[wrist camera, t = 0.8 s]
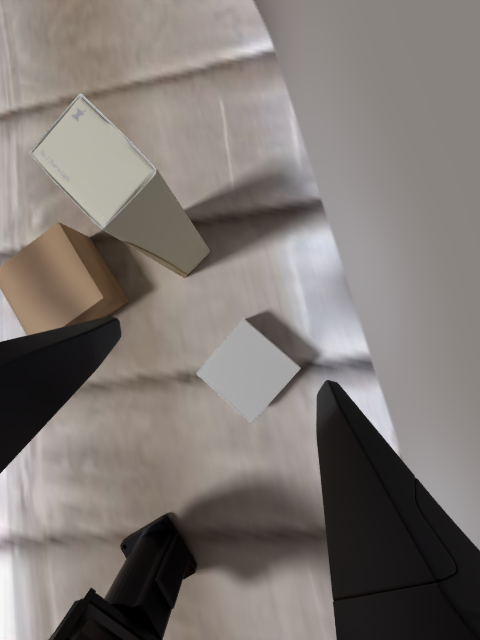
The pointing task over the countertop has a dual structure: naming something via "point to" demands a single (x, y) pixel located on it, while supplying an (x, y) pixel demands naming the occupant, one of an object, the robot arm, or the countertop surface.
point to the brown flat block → (59, 282)
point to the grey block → (248, 370)
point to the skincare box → (118, 187)
